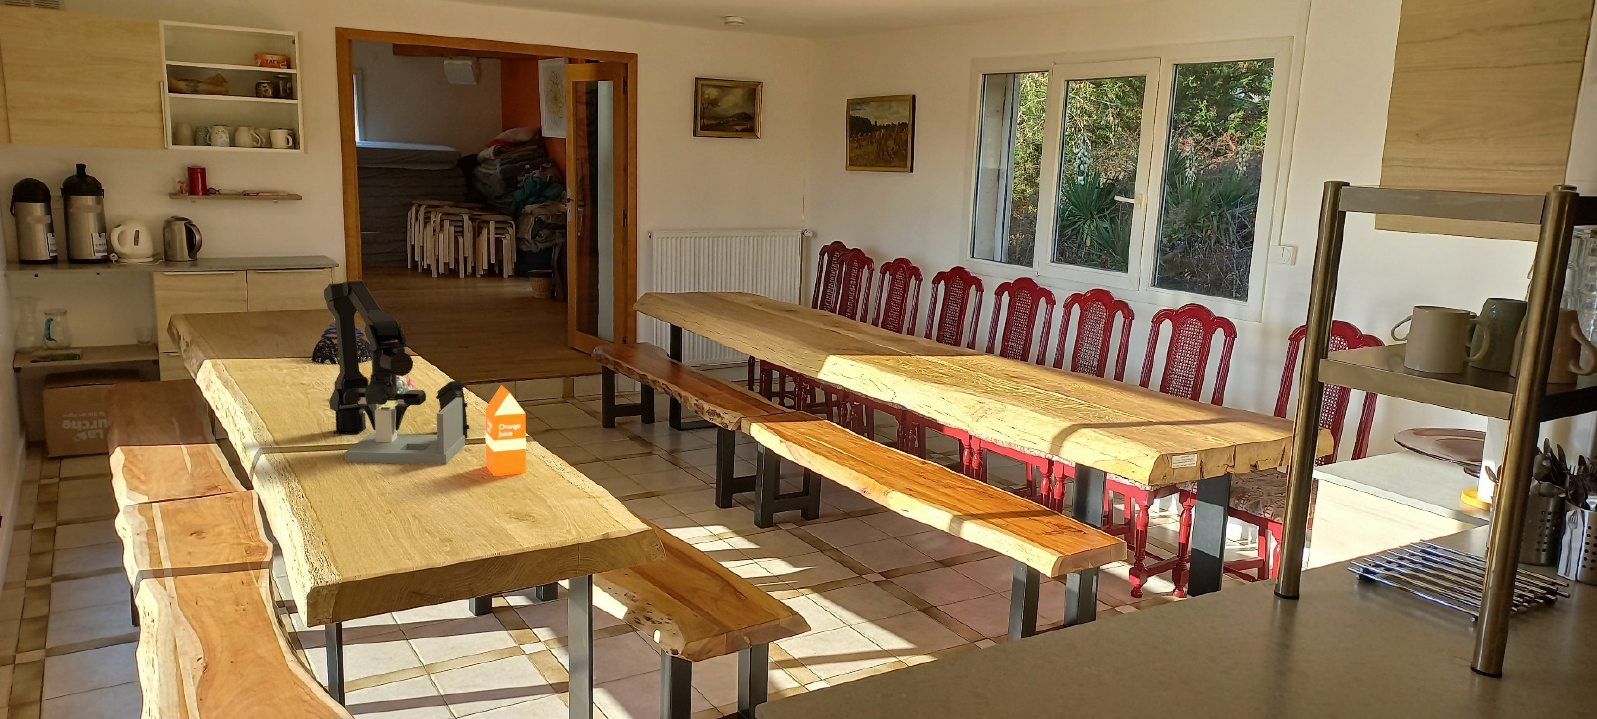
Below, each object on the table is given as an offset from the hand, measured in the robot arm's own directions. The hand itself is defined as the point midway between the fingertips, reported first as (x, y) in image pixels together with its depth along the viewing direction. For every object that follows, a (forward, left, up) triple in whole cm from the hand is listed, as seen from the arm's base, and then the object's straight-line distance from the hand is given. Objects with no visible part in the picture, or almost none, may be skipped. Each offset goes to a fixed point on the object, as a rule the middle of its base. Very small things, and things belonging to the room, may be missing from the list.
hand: (386, 430), depth 279 cm
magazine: (+12, +17, -5) cm, 21 cm away
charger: (0, 0, -2) cm, 2 cm away
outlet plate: (+6, -3, -5) cm, 8 cm away
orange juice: (+33, -15, -5) cm, 37 cm away
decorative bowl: (-52, +116, -5) cm, 127 cm away
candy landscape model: (-18, +56, -6) cm, 59 cm away
